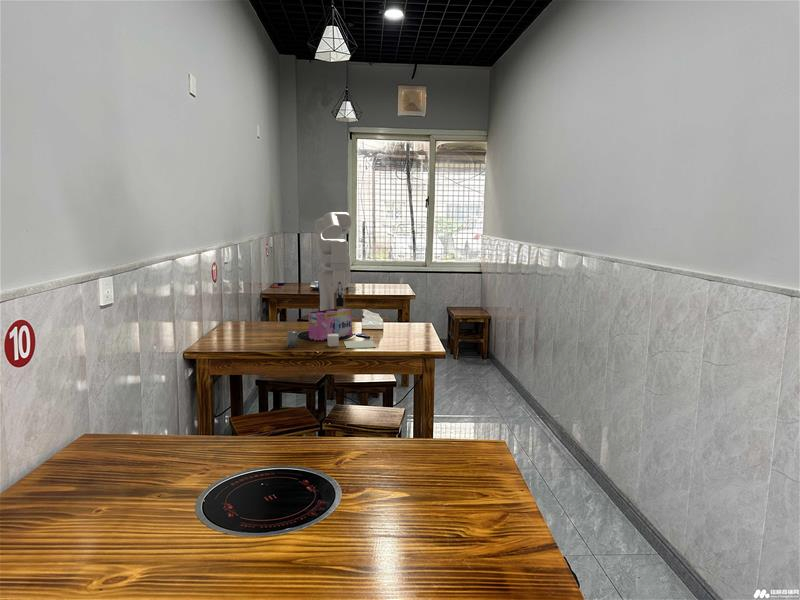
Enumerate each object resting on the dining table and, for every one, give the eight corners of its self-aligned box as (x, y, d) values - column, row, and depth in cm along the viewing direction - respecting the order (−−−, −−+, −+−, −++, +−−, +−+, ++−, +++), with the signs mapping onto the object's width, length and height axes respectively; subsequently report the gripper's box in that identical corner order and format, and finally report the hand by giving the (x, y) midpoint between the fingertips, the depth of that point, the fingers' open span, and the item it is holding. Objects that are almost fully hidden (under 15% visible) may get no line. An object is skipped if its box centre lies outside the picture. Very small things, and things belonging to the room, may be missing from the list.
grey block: (327, 344, 267) (327, 334, 267) (338, 344, 268) (337, 333, 267) (328, 346, 262) (327, 336, 262) (338, 346, 263) (338, 335, 263)
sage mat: (343, 342, 271) (343, 341, 271) (372, 341, 274) (372, 340, 274) (346, 348, 258) (346, 347, 257) (376, 347, 260) (376, 346, 260)
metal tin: (287, 345, 264) (286, 330, 263) (297, 345, 265) (297, 330, 264) (286, 347, 259) (286, 333, 258) (297, 347, 260) (297, 332, 259)
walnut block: (333, 307, 264) (333, 292, 263) (344, 307, 265) (344, 292, 264) (334, 309, 259) (334, 294, 258) (345, 308, 260) (344, 294, 259)
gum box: (344, 332, 296) (344, 307, 294) (354, 334, 291) (354, 308, 289) (308, 339, 279) (307, 312, 277) (318, 341, 273) (318, 314, 271)
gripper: (330, 265, 267) (330, 302, 270) (331, 268, 250) (332, 308, 253) (346, 265, 268) (346, 302, 271) (348, 268, 252) (348, 308, 254)
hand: (339, 304), depth 262 cm, fingers closed on walnut block, 5 cm apart
